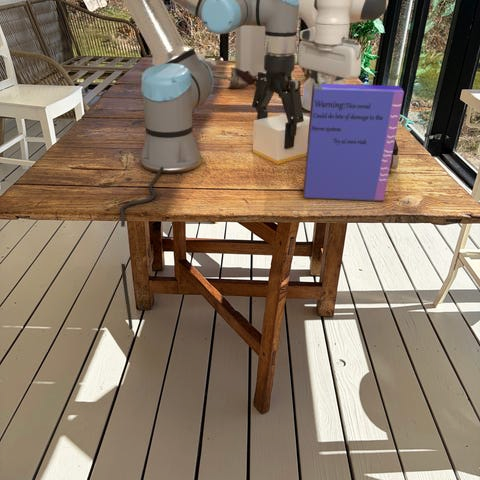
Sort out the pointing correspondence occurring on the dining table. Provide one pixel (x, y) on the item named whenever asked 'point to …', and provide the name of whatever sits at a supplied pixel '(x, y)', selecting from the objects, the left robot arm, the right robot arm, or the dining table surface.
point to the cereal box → (351, 141)
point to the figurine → (239, 78)
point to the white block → (250, 49)
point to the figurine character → (394, 157)
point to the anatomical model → (306, 72)
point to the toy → (198, 58)
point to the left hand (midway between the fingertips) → (275, 141)
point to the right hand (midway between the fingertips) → (325, 89)
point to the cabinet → (279, 139)
